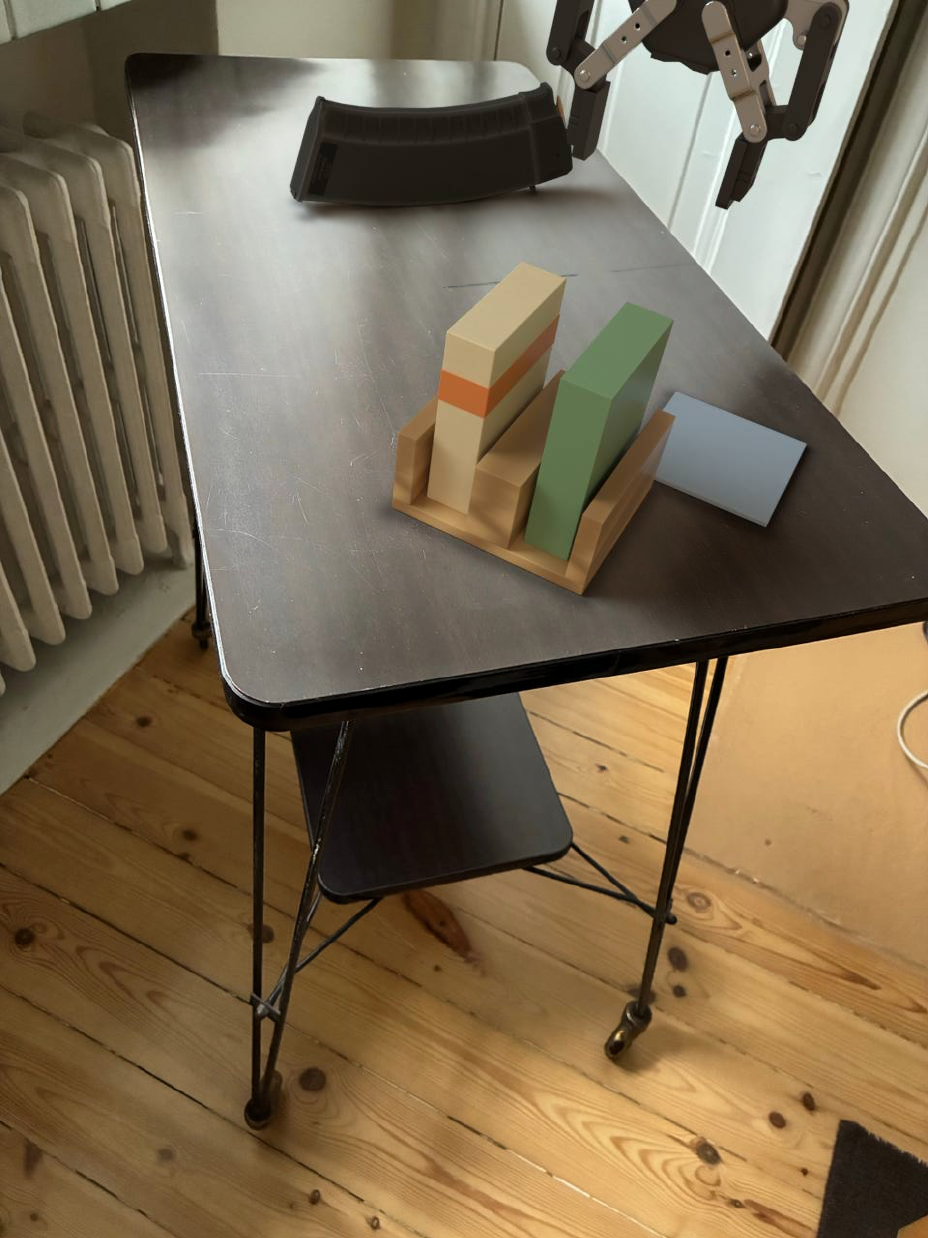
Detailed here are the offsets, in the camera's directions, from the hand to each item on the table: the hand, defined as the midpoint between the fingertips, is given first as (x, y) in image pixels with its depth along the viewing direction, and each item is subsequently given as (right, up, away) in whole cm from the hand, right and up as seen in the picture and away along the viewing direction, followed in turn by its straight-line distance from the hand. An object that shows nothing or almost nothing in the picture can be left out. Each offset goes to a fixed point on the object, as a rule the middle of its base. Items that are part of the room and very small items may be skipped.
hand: (653, 178), depth 55 cm
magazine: (-14, +20, +50) cm, 56 cm away
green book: (-2, -16, +19) cm, 25 cm away
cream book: (-9, -13, +20) cm, 26 cm away
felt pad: (+10, -11, +26) cm, 30 cm away
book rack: (-6, -15, +20) cm, 26 cm away
